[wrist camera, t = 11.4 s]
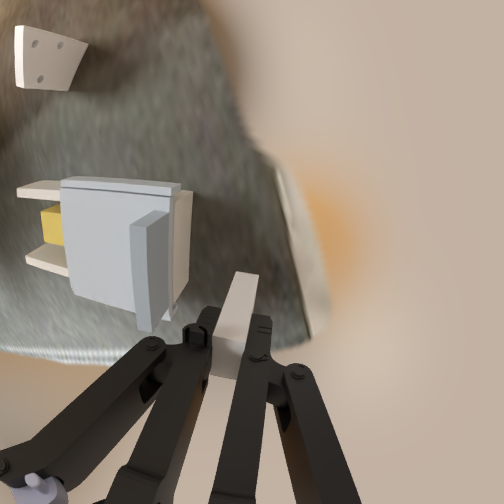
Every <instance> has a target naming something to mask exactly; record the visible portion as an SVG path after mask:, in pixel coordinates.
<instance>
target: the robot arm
mask: <svg viewBox="0 0 504 504" xmlns="http://www.w3.org/2000/svg"><path fill="white" fill-rule="evenodd" d="M258 278H259V275H255V274H249V273H244V272H238V271H236V273H235V276H234V278H233V281H232V284H231V286H230V289H229V292H228V295H227V297H226V300H225V303H224V305H223V308H217V307H211V306H207V307H206V308H204V309H203V310H202V311H201V313H200V315H199V318H198V320H197V322H196V323H193V324H189V325H187V326H185V327H184V328H183V329H182V330H183V343H181V344H175V345H166V344H165V342H164V340H162V339H161V338H159V337H156V336H149V337H145V338H143V339H142V340H141V341H139V342H138V343H137V344H136V345H135V346H134V347H133V348H132V349H130V350H129V351H128V352H127V353H126V354H125V355H124V356H123V357H121V358H120V359H119V360H118V361H117V362H116V363H115V364H114V365H113V366H111V367H110V368H109V369H108V370H107V371H106V372H105V373H104V374H102V375H101V376H100V377H99V378H98V379H97V380H96V381H95V382H94V383H93V384H91V385H90V386H89V387H88V388H87V389H86V390H85V391H84V392H83V393H82V394H80V395H79V396H78V397H77V398H76V399H75V400H74V401H73V402H71V403H70V404H69V405H68V406H67V407H66V408H65V409H64V410H63V411H62V412H61V413H59V414H58V415H57V416H56V417H55V418H54V419H53V420H52V421H51V422H50V423H49V424H47V425H46V426H45V427H44V428H43V429H42V430H41V431H40V432H39V433H38V434H37V435H36V436H34V437H33V438H32V439H31V440H29V441H26V442H24V443H21V444H18V445H15V446H12V447H10V448H7V449H4V450H1V451H0V481H2V482H3V483H5V484H6V485H7V486H9V488H10V490H11V492H12V494H13V496H14V498H15V500H16V502H17V504H68V495H67V492H69V491H71V490H72V489H74V488H75V487H77V486H78V485H80V484H81V483H82V482H83V481H84V480H85V479H86V478H87V477H88V476H89V475H90V473H91V472H92V471H93V470H94V469H95V468H96V467H97V466H98V464H99V463H100V462H101V461H102V460H103V459H104V458H105V457H106V456H107V455H108V453H109V452H110V451H111V450H112V449H113V448H114V447H115V446H116V444H117V443H118V442H119V441H120V440H121V439H122V438H123V436H124V435H125V434H126V433H127V432H128V431H129V430H130V428H131V427H132V426H133V425H134V424H135V423H136V422H137V420H138V419H139V418H140V417H141V416H142V415H143V414H144V412H145V411H146V410H147V409H148V408H149V407H150V406H151V404H152V403H153V402H154V401H155V400H156V401H155V403H154V405H153V407H152V410H151V412H150V414H149V416H148V418H147V421H146V423H145V425H144V428H143V430H142V432H141V434H140V436H139V439H138V441H137V443H136V445H135V448H134V450H133V452H132V455H131V457H130V459H129V461H128V463H127V464H126V465H124V466H122V467H121V468H120V469H119V470H118V472H117V474H116V477H115V479H114V481H113V483H112V486H111V488H110V490H109V493H108V495H107V497H106V499H103V500H101V501H98V502H95V503H93V504H173V497H174V492H175V489H176V486H177V483H178V479H179V476H180V473H181V470H182V466H183V463H184V460H185V456H186V453H187V450H188V447H189V443H190V440H191V437H192V434H193V430H194V427H195V424H196V420H197V417H198V414H199V411H200V407H201V404H202V401H203V398H204V395H205V391H206V388H207V385H208V376H209V373H210V375H214V376H219V377H224V378H229V379H235V380H237V381H236V386H235V391H234V396H233V400H232V404H231V409H230V413H229V418H228V423H227V427H226V431H225V436H224V441H223V445H222V449H221V454H220V458H219V462H218V467H217V472H216V476H215V480H214V484H213V488H212V492H211V495H210V498H209V502H208V504H256V499H255V492H256V484H257V477H258V469H259V462H260V453H261V445H262V436H263V428H264V419H265V409H266V402H268V403H270V404H273V407H274V411H275V416H276V420H277V424H278V429H279V433H280V437H281V441H282V446H283V450H284V454H285V458H286V463H287V467H288V471H289V475H290V479H291V483H292V487H293V492H294V495H295V500H296V504H362V503H361V500H360V497H359V495H358V492H357V489H356V487H355V484H354V481H353V479H352V476H351V473H350V470H349V468H348V465H347V462H346V460H345V457H344V454H343V452H342V449H341V446H340V444H339V441H338V438H337V436H336V433H335V430H334V428H333V425H332V423H331V420H330V417H329V415H328V412H327V409H326V407H325V404H324V402H323V399H322V396H321V394H320V391H319V389H318V386H317V384H316V381H315V379H314V376H313V373H312V371H311V370H310V369H309V368H308V367H307V366H305V365H303V364H298V363H293V364H290V365H288V366H283V365H280V364H279V363H277V362H275V361H274V360H273V359H272V357H271V355H270V346H271V334H272V323H273V322H272V320H271V318H270V316H265V315H259V314H253V309H254V303H255V297H256V291H257V285H258Z"/></svg>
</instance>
